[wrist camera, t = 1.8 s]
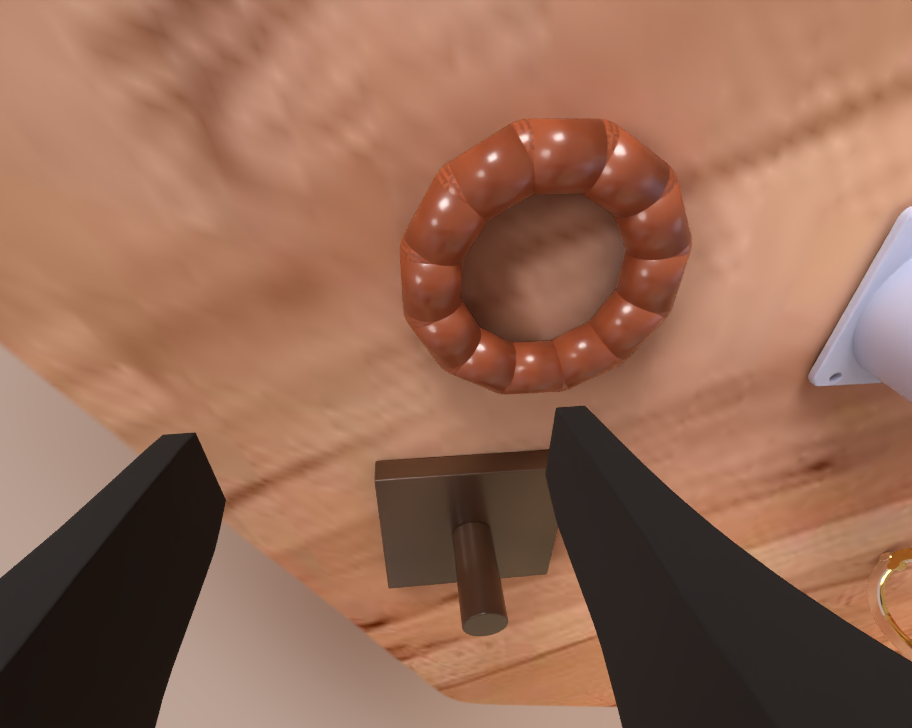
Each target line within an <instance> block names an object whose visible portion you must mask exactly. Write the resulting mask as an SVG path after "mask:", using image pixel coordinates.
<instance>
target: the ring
mask: <svg viewBox="0 0 912 728" xmlns="http://www.w3.org/2000/svg"><path fill="white" fill-rule="evenodd" d="M880 560H881V561H880V562H879V563H878V564H877V565H876V566H875V567H874V569H873V570H872V572H871V574H870V577H869V580H868V587H867V594H868V601H869V606H870V609H871V612H872V615H873V617H874V619H875V621H876V623H877V625H878V626H879V628H880V630H881V631H882V632H883V634H884V635H885V636H886V638H887V639H888V640H889V641H890V642H891V643H892V644H893V645H894V646H895V647H896V648H897V649H898V650H899V651H900V652H901V653H902V654H904V655H905V656H906V657H907V658H909V659H910V660H911V661H912V639H910V638H909V637H908V636H907V635H906V634H905V633H904V632H903V631H902V630H901V629H900V628H899V626H898V625H897V624H896V623H895V621H894V620H893V618H892V616H891V614H890V612H889V610H888V608H887V605H886V601H885V586H886V582H887V580H888V578H889V577H890V575H891V574H892V573H893V572H894V571H898V572H900V571H903V570H904V569H906V567H907V564H906V563H908V562H911V561H912V548H909V549H903V550H899V551H896V552H894V553H891V552H885V553H883V554H881V556H880Z"/></svg>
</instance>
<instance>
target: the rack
mask: <svg viewBox="0 0 912 728" xmlns="http://www.w3.org/2000/svg"><path fill="white" fill-rule="evenodd" d="M548 454H549V450H541V451H525V452H510V453H495V454H480V455H465V456H450V457H434V458H419V459H404V460H389V461H376V463H375V488H376V496H377V503H378V511H379V519H380V526H381V534H382V542H383V549H384V557H385V565H386V572H387V580H388V587H389V588H400V587H411V586H422V585H433V584H445V583H456V582H457V585H458V594H459V603H460V612H461V622H462V629H463V631H464V632H465V633H467V634H469V635H472V636H488V635H492V634H495V633H498V632H500V631H501V630H503V629H504V628H505V627H506V626H507V624H508V617H507V612H506V607H505V601H504V596H503V591H502V585H501V580H500V578H511V577H522V576H533V575H544V574H547V571H548V567H549V563H550V558H551V554H552V550H553V545H554V541H555V537H556V533H557V528H558V524H557V521H556V518H555V514H554V510H553V506H552V502H551V498H550V493H549V489H548V484H547V480H546V476H545V473H546V467H547V460H548Z"/></svg>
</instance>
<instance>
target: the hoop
mask: <svg viewBox="0 0 912 728" xmlns="http://www.w3.org/2000/svg"><path fill="white" fill-rule="evenodd" d="M574 193H581V194H583V195H584V196H586V197H587V198H589V199H590V200H592V201H593V202H595V203H596V204H598V205H599V206H601V207H602V208H604V209H605V210H607V211H608V212H610V213H611V214H613V215H614V218H615V221H616V223H617V226H618V229H619V232H620V235H621V238H622V241H623V243H624V246H625V249H626V250H625V254H624V258H623V263H622V267H621V271H620V275H619V279H618V284H617V288H616V289H615V290H614V292H613V293H612V294H611V295H610V296H609V298H608V299H607V300H606V301H605V302H604V304H603V305H602V306H601V307H600V308H599V310H598V311H597V312H596V313H595V314H594V316H593V317H592V318H591V319H590V320H589V321H588V322H586V323H584V324H582V325H580V326H578V327H576V328H574V329H572V330H570V331H568V332H566V333H564V334H562V335H560V336H558V337H556V338H554V339H552V340H550V341H528V342H509V341H507V340H505V339H503V338H501V337H499V336H497V335H495V334H492V333H490V332H488V331H486V330H484V329H482V328H480V327H479V326H478V324H477V323H476V321H475V320H474V318H473V317H472V315H471V313H470V312H469V310H468V309H467V307H466V306H465V304H464V302H463V301H462V261H463V259H464V257H465V256H466V254H467V253H468V251H469V249H470V248H471V246H472V245H473V243H474V241H475V240H476V238H477V237H478V235H479V233H480V232H481V230H482V229H483V227H484V225H485V224H486V222H487V221H488V220H489V219H491V218H493V217H494V216H496V215H498V214H500V213H501V212H503V211H505V210H507V209H508V208H510V207H512V206H513V205H515V204H517V203H519V202H520V201H522V200H524V199H526V198H527V197H529V196H531V195H532V194H574ZM691 247H692V237H691V232H690V228H689V224H688V220H687V216H686V212H685V208H684V204H683V200H682V196H681V192H680V188H679V184H678V180H677V177H676V174H675V172H674V170H673V169H672V168H671V166H670V165H668V164H667V163H666V162H665V161H664V160H662V159H661V158H660V157H658V156H657V155H656V154H654V153H653V152H652V151H651V150H649V149H648V148H647V147H645V146H644V145H643V144H641V143H640V142H639V141H637V140H636V139H635V138H633V137H632V136H631V135H630V134H628V133H627V132H626V131H624V130H623V129H622V128H620V127H619V126H618V125H616V124H615V123H613V122H611V121H608V120H604V119H522V120H518V121H515V122H513V123H511V124H509V125H508V126H506V127H504V128H503V129H501V130H500V131H498V132H496V133H495V134H493V135H492V136H490V137H488V138H487V139H485V140H484V141H482V142H480V143H479V144H477V145H475V146H474V147H472V148H471V149H469V150H467V151H466V152H464V153H463V154H461V155H459V156H458V157H456V158H455V159H453V160H451V161H450V162H448V163H447V164H446V165H444V166H443V167H442V168H441V169H440V170H439V171H438V173H437V174H436V176H435V178H434V180H433V181H432V183H431V185H430V187H429V189H428V191H427V193H426V194H425V196H424V198H423V200H422V202H421V204H420V206H419V207H418V209H417V211H416V213H415V215H414V217H413V219H412V220H411V222H410V224H409V226H408V228H407V230H406V232H405V233H404V235H403V238H402V240H401V245H400V263H401V280H402V297H403V311H404V316H405V318H406V321H407V322H408V324H409V325H410V327H411V328H412V329H413V331H414V332H415V333H416V335H417V336H418V337H419V339H420V340H421V341H422V343H423V344H424V345H425V347H426V348H427V350H428V351H429V352H430V354H431V355H432V356H433V358H434V359H435V360H436V362H437V363H438V364H439V365H440V367H441V368H442V369H444V370H445V371H446V372H448V373H450V374H452V375H455V376H457V377H460V378H462V379H464V380H467V381H469V382H472V383H474V384H476V385H479V386H481V387H484V388H486V389H488V390H491V391H493V392H496V393H499V394H525V393H543V392H560V391H565V390H568V389H570V388H572V387H574V386H577V385H579V384H581V383H583V382H585V381H587V380H589V379H591V378H593V377H596V376H598V375H600V374H602V373H604V372H606V371H608V370H610V369H613V368H615V367H617V366H619V365H621V364H622V363H624V362H625V361H626V360H627V359H628V358H629V357H630V356H631V355H632V354H633V353H634V351H635V350H636V349H637V348H638V347H639V346H640V345H641V344H642V343H643V342H644V341H645V340H646V339H647V337H648V336H649V335H650V334H651V333H652V332H653V331H654V330H655V329H656V328H657V327H658V326H659V325H660V323H661V322H662V321H663V320H664V319H665V318H666V317H667V316H668V314H669V313H670V311H671V309H672V307H673V304H674V301H675V298H676V295H677V292H678V288H679V285H680V282H681V279H682V276H683V273H684V270H685V267H686V264H687V260H688V257H689V254H690V251H691Z"/></svg>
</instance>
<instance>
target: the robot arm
mask: <svg viewBox="0 0 912 728" xmlns="http://www.w3.org/2000/svg"><path fill="white" fill-rule="evenodd" d="M808 380H809V381H810V382H811V383H812V384H814V385H815V386H834V385H852V384H870V383H884V384H886V385H887V386H888V387H890V388H891V389H893V390H894V391H895V392H897V393H898V394H899V395H901V396H902V397H903V398H905V399H906V400H907V401H909V402H910V403H912V206H910V207H909V208H907V209H905V210H904V211H903V212H902V213H901V214H900V215H899V217H898V218H897V220H896V222H895V223H894V225H893V227H892V229H891V230H890V232H889V234H888V236H887V237H886V239H885V241H884V243H883V244H882V246H881V248H880V250H879V251H878V253H877V255H876V257H875V259H874V260H873V262H872V264H871V266H870V267H869V269H868V271H867V273H866V274H865V276H864V278H863V280H862V281H861V283H860V285H859V287H858V288H857V290H856V292H855V294H854V295H853V297H852V299H851V301H850V302H849V304H848V306H847V308H846V310H845V311H844V313H843V315H842V317H841V318H840V320H839V322H838V324H837V325H836V327H835V329H834V331H833V332H832V334H831V336H830V338H829V339H828V341H827V343H826V345H825V346H824V348H823V350H822V352H821V353H820V355H819V357H818V359H817V360H816V362H815V364H814V366H813V368H812V369H811V371H810V373H809V375H808ZM545 476H546V480H547V484H548V489H549V493H550V498H551V502H552V506H553V510H554V514H555V518H556V521H557V524H558V527H559V530H560V533H561V535H562V538H563V541H564V544H565V547H566V549H567V552H568V555H569V558H570V560H571V563H572V566H573V569H574V571H575V574H576V577H577V579H578V582H579V585H580V588H581V590H582V593H583V596H584V599H585V601H586V604H587V607H588V609H589V612H590V615H591V618H592V620H593V623H594V626H595V629H596V632H597V635H598V638H599V642H600V645H601V648H602V651H603V655H604V659H605V662H606V666H607V670H608V674H609V677H610V681H611V685H612V689H613V692H614V696H615V700H616V704H617V708H618V711H619V715H620V719H621V723H622V727H623V728H912V662H911V661H910V660H908V659H906V658H905V657H903V656H901V655H900V654H898V653H896V652H895V651H893V650H891V649H890V648H888V647H886V646H885V645H883V644H881V643H880V642H878V641H877V640H875V639H873V638H872V637H870V636H869V635H867V634H866V633H864V632H862V631H861V630H859V629H858V628H856V627H854V626H853V625H851V624H850V623H848V622H846V621H845V620H843V619H842V618H840V617H839V616H837V615H836V614H834V613H833V612H831V611H830V610H828V609H827V608H825V607H824V606H822V605H821V604H819V603H818V602H816V601H815V600H813V599H812V598H810V597H809V596H807V595H806V594H804V593H803V592H801V591H800V590H798V589H797V588H796V587H794V586H793V585H791V584H790V583H788V582H787V581H786V580H784V579H783V578H781V577H780V576H778V575H777V574H776V573H774V572H773V571H771V570H770V569H769V568H767V567H766V566H765V565H763V564H762V563H761V562H759V561H758V560H757V559H755V558H754V557H753V556H751V555H750V554H749V553H747V552H746V551H745V550H743V549H742V548H741V547H739V546H738V545H737V544H735V543H734V542H733V541H731V540H730V539H729V538H728V537H726V536H725V535H724V534H723V533H721V532H720V531H719V530H718V529H716V528H715V527H714V526H713V525H711V524H710V523H709V522H708V521H707V520H706V519H704V518H703V517H702V516H701V515H700V514H698V513H697V512H696V511H695V510H694V509H693V508H691V507H690V506H689V505H688V504H687V503H685V502H684V501H683V500H682V499H681V498H680V497H679V496H678V495H676V494H675V493H674V492H673V491H672V490H671V489H670V488H669V487H668V486H667V485H665V484H664V483H663V482H662V481H661V480H660V479H659V478H658V477H657V476H656V475H655V474H654V473H653V472H652V471H650V470H649V469H648V468H647V467H646V466H645V465H644V464H643V463H642V462H641V461H640V460H639V459H638V458H637V457H636V456H635V455H634V454H633V453H632V452H631V451H630V450H629V449H628V448H627V447H626V446H625V445H624V444H623V443H622V442H621V441H620V440H619V439H618V438H617V437H616V436H615V435H614V434H613V433H612V432H611V431H610V430H609V429H608V428H607V427H606V426H605V425H604V424H603V423H602V422H601V421H600V420H599V419H598V418H597V417H596V416H595V415H594V414H593V413H592V412H591V411H590V410H589V409H588V408H587V407H586V406H574V407H559V408H556V412H555V418H554V424H553V430H552V436H551V442H550V448H549V454H548V460H547V467H546V473H545ZM225 502H226V499H225V497H224V495H223V493H222V490H221V488H220V486H219V484H218V482H217V479H216V477H215V475H214V473H213V470H212V468H211V466H210V464H209V462H208V459H207V457H206V455H205V453H204V450H203V448H202V446H201V444H200V442H199V439H198V437H197V435H196V433H183V434H168V435H162V436H161V437H160V438H159V439H158V440H156V441H155V442H154V443H153V444H152V445H151V446H149V447H148V448H147V449H146V450H145V451H144V452H143V453H142V454H141V455H139V456H138V457H137V458H136V459H135V460H134V461H133V462H132V463H131V464H130V465H129V466H128V467H126V468H125V469H124V470H123V471H122V472H121V473H120V474H119V475H118V476H117V477H116V478H115V479H113V480H112V481H111V482H110V483H109V484H108V485H107V486H106V487H105V488H104V489H102V490H101V491H100V492H99V493H98V494H97V495H96V496H95V497H94V498H92V499H91V500H90V501H89V502H88V503H87V504H86V505H85V506H84V507H82V508H81V509H80V510H79V511H78V512H77V513H76V514H75V515H74V516H72V517H71V518H70V519H69V520H68V521H67V522H66V523H65V524H64V525H62V526H61V527H60V528H59V529H58V530H57V531H56V532H54V533H53V534H52V535H51V536H50V537H49V538H47V539H46V540H45V541H44V542H43V543H42V544H40V545H39V546H38V547H37V548H35V549H34V550H33V551H32V552H31V553H30V554H28V555H27V556H26V557H25V558H24V559H23V560H21V561H20V562H19V563H18V564H17V565H15V566H14V567H13V568H12V569H11V570H9V571H8V572H7V573H6V574H5V575H4V576H2V577H1V578H0V728H155V726H156V722H157V718H158V715H159V711H160V707H161V703H162V699H163V696H164V693H165V690H166V687H167V683H168V680H169V677H170V674H171V671H172V668H173V665H174V663H175V660H176V657H177V654H178V652H179V648H180V646H181V643H182V641H183V638H184V635H185V632H186V629H187V627H188V624H189V621H190V619H191V616H192V613H193V610H194V607H195V605H196V602H197V599H198V597H199V594H200V591H201V588H202V585H203V583H204V580H205V577H206V574H207V571H208V569H209V565H210V563H211V560H212V557H213V554H214V551H215V547H216V543H217V539H218V534H219V530H220V526H221V522H222V517H223V512H224V507H225Z"/></svg>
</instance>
